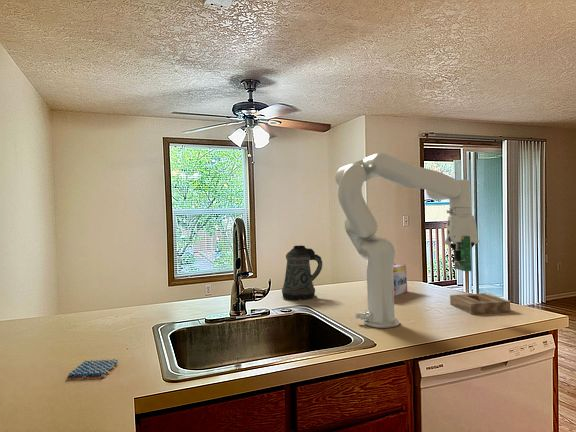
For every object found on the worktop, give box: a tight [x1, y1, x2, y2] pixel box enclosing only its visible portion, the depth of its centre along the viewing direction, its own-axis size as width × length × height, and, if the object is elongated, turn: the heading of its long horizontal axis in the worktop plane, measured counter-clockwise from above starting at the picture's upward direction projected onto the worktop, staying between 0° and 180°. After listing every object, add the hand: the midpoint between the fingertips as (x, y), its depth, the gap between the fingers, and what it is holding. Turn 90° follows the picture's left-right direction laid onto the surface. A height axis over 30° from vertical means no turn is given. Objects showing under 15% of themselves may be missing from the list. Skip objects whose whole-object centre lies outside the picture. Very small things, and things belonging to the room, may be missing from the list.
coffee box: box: [453, 236, 472, 272], centre depth 149 cm, size 8×3×13 cm, turn 5°
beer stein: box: [281, 245, 323, 301], centre depth 193 cm, size 16×19×25 cm
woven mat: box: [66, 358, 119, 381], centre depth 109 cm, size 10×11×2 cm
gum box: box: [393, 263, 408, 297], centre depth 191 cm, size 24×8×14 cm, turn 136°
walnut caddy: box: [449, 292, 511, 315], centre depth 160 cm, size 16×16×4 cm
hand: (462, 260), depth 149 cm, fingers closed on coffee box, 3 cm apart
